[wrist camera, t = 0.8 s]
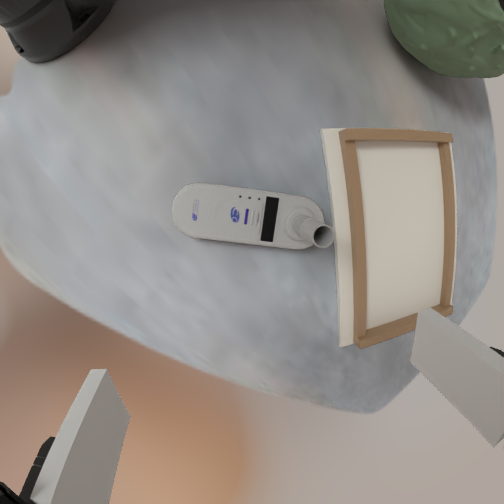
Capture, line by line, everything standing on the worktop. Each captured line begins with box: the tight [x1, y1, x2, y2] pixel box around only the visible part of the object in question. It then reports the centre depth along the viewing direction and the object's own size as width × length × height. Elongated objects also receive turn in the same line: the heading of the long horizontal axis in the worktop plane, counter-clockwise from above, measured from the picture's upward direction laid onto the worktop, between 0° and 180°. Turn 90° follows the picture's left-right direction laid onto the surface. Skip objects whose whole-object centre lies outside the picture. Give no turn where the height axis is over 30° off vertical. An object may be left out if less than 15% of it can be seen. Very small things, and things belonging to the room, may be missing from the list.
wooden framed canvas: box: [320, 128, 457, 349], centre depth 30 cm, size 26×20×3 cm
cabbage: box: [384, 0, 504, 78], centre depth 16 cm, size 16×19×20 cm
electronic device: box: [172, 183, 334, 250], centre depth 24 cm, size 5×10×15 cm
